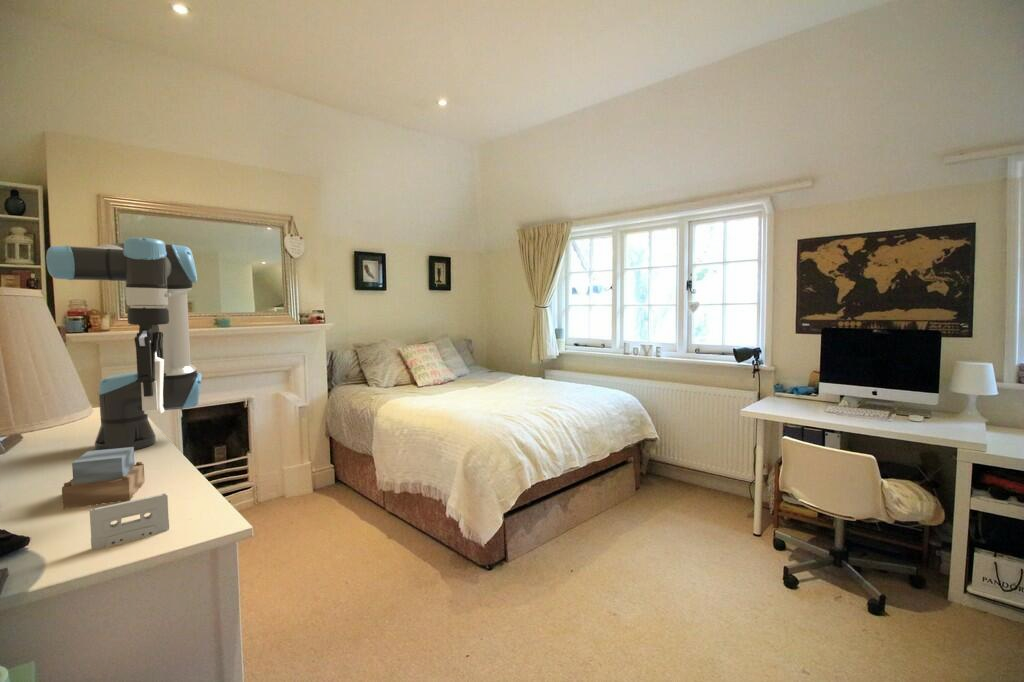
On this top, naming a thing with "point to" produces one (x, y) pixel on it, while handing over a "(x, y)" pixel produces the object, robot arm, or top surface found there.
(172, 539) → the top surface
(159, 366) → the perfume bottle
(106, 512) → the cassette
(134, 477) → the blue block on board
